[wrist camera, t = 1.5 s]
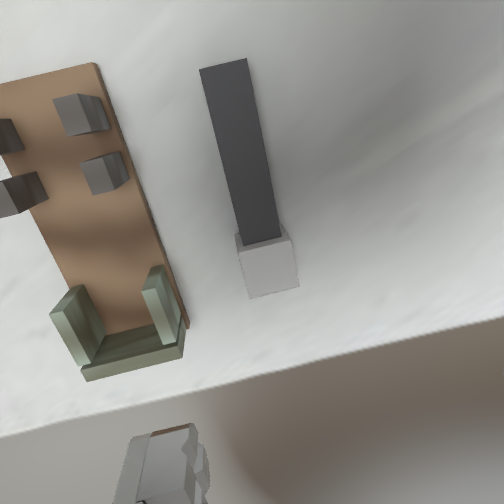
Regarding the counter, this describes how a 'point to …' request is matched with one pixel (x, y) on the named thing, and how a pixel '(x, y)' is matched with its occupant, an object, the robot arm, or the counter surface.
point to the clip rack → (90, 221)
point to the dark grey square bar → (248, 180)
